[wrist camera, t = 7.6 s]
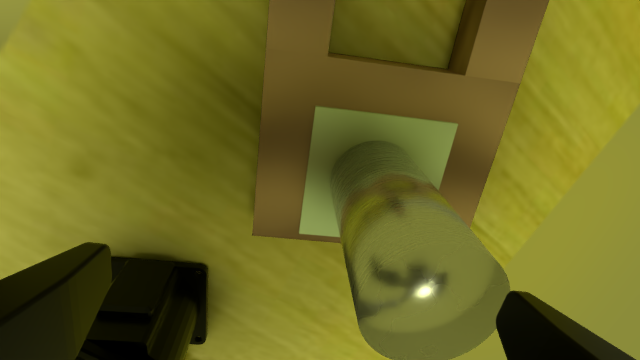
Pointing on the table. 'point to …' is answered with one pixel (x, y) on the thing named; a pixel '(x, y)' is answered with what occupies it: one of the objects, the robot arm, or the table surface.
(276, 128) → the pocket block
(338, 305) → the table surface
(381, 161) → the clear glass jar
